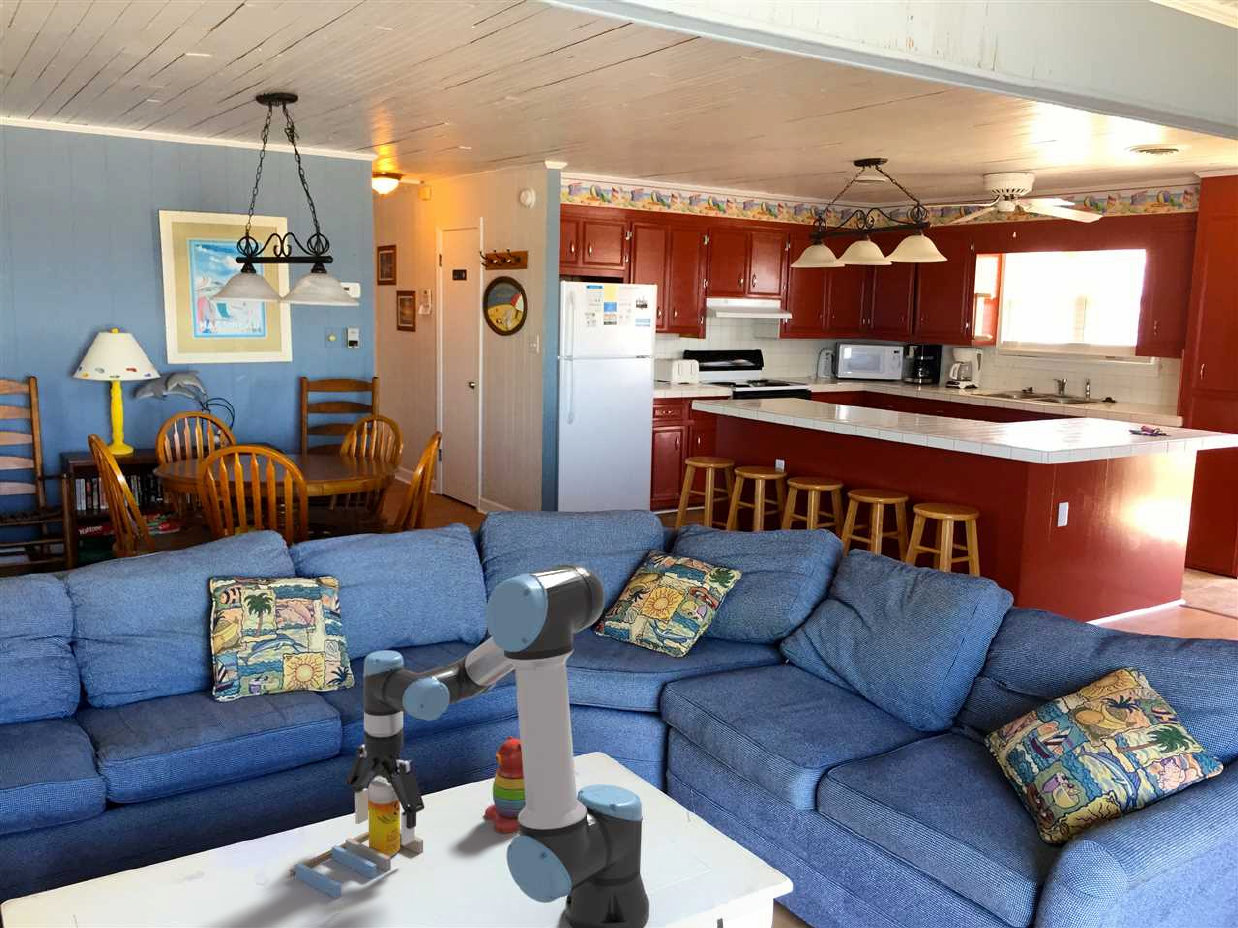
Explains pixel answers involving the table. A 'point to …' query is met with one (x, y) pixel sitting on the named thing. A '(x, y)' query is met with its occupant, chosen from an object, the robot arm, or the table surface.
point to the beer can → (383, 817)
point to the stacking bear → (508, 787)
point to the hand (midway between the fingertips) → (384, 831)
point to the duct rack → (349, 863)
